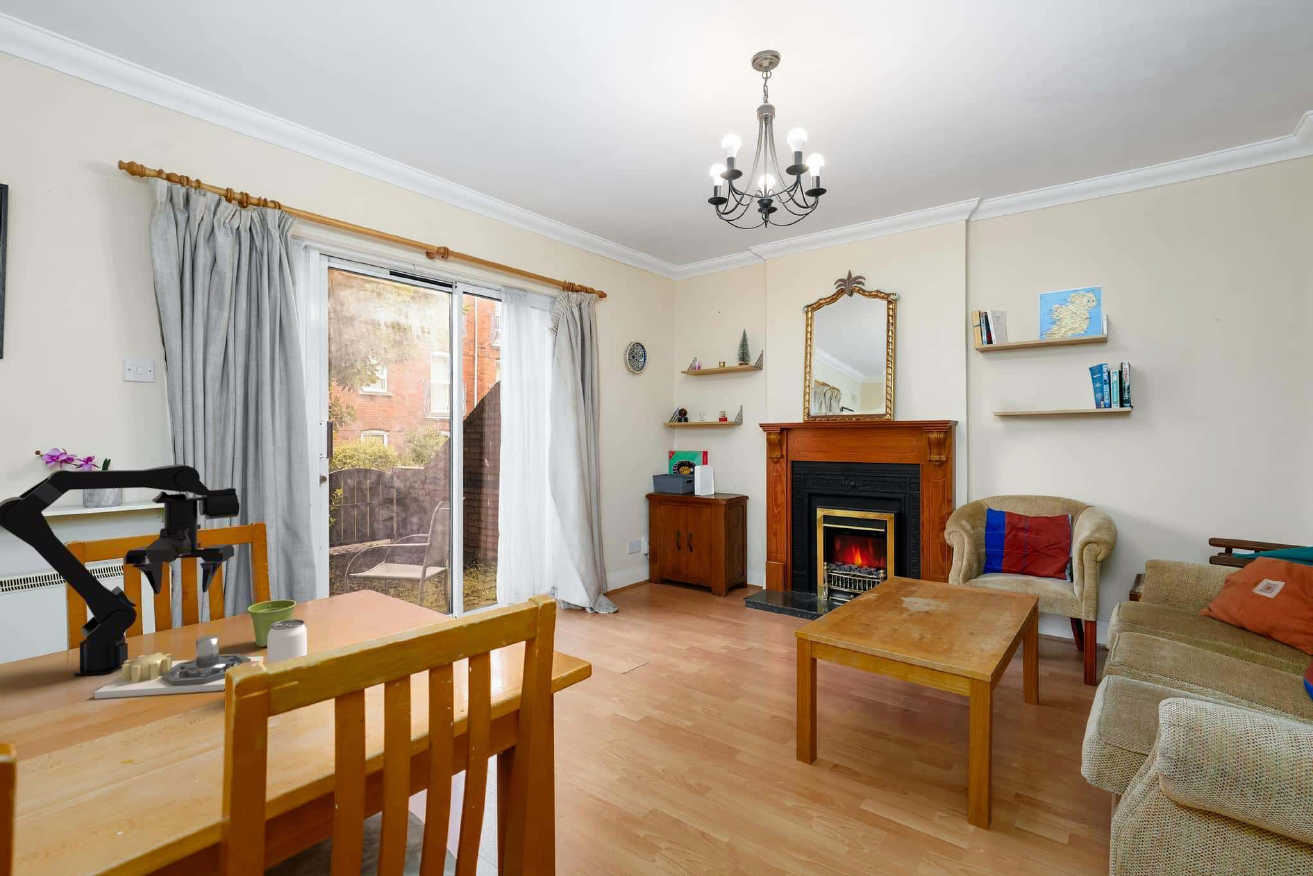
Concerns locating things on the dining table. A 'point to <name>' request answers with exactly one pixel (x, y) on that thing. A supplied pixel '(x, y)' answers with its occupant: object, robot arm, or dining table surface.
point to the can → (286, 640)
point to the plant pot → (269, 617)
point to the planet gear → (206, 659)
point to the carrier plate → (163, 677)
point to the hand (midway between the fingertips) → (181, 593)
